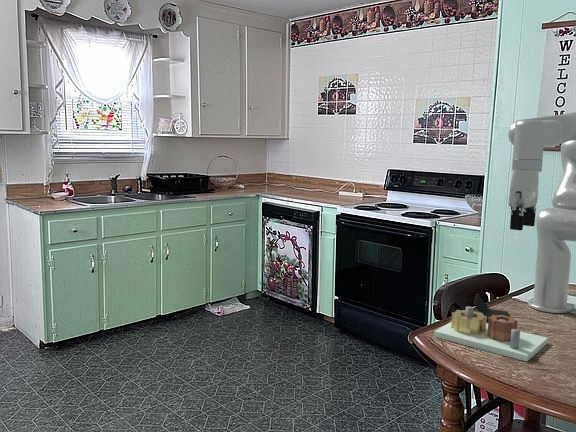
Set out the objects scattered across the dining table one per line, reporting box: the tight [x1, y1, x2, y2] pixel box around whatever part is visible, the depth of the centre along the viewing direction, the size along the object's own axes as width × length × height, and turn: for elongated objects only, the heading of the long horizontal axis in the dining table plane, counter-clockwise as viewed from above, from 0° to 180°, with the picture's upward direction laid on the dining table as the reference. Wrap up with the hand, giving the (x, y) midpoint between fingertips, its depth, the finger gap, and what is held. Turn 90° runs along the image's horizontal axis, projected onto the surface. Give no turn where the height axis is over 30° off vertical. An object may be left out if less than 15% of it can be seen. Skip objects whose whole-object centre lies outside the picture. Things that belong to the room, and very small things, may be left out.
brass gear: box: [450, 309, 487, 335], centre depth 146 cm, size 9×9×4 cm
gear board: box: [433, 306, 549, 362], centre depth 142 cm, size 16×24×8 cm, turn 48°
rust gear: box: [487, 315, 518, 342], centre depth 140 cm, size 7×7×5 cm
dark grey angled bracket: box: [473, 293, 509, 323], centre depth 161 cm, size 12×7×10 cm
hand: (522, 227), depth 150 cm, fingers open, 9 cm apart
